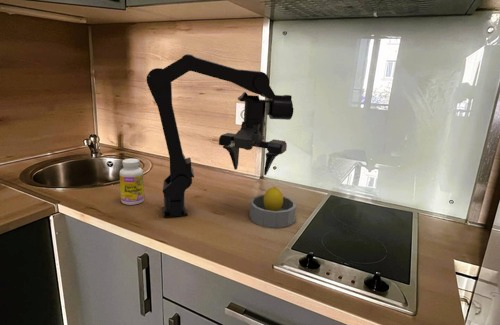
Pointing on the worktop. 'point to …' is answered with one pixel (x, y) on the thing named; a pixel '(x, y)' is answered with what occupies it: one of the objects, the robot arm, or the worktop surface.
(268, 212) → the bowl
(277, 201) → the lemon
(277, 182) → the worktop surface
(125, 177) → the supplement bottle
